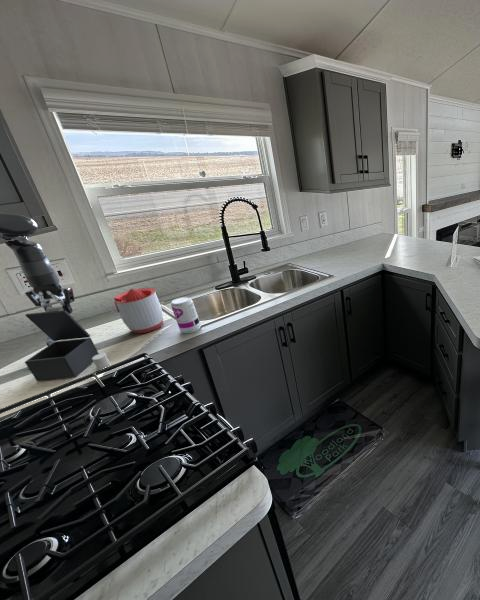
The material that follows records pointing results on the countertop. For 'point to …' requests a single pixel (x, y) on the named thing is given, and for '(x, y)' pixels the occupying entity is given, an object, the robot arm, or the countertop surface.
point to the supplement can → (185, 315)
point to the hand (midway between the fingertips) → (61, 314)
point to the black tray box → (62, 359)
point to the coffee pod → (101, 361)
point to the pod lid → (58, 324)
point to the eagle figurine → (49, 341)
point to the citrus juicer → (139, 309)
